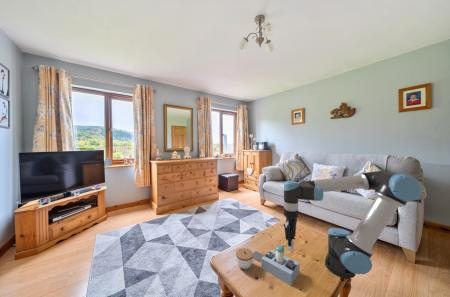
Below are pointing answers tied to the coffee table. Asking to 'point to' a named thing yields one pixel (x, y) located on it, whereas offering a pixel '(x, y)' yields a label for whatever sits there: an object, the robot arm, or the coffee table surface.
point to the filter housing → (280, 268)
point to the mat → (257, 256)
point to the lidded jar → (244, 257)
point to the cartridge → (280, 255)
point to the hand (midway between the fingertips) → (290, 250)
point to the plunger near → (291, 265)
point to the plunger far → (269, 255)
